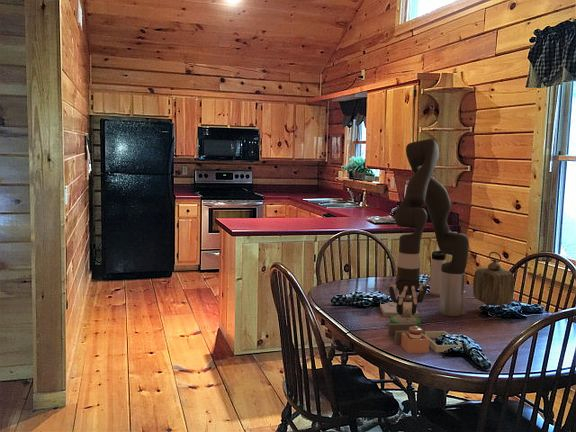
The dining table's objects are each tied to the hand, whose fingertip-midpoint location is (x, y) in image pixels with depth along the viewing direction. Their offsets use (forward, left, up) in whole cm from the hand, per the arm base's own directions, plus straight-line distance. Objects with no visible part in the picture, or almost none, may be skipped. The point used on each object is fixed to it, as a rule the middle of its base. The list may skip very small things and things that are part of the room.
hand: (406, 313), depth 186 cm
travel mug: (-36, -58, -10) cm, 69 cm away
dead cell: (0, +9, -9) cm, 13 cm away
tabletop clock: (-48, -31, -10) cm, 58 cm away
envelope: (-10, -38, -11) cm, 41 cm away
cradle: (0, -1, -10) cm, 10 cm away
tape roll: (-6, -17, -10) cm, 21 cm away
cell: (0, 0, -1) cm, 1 cm away
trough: (-11, +5, -10) cm, 15 cm away
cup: (0, +9, -10) cm, 13 cm away
